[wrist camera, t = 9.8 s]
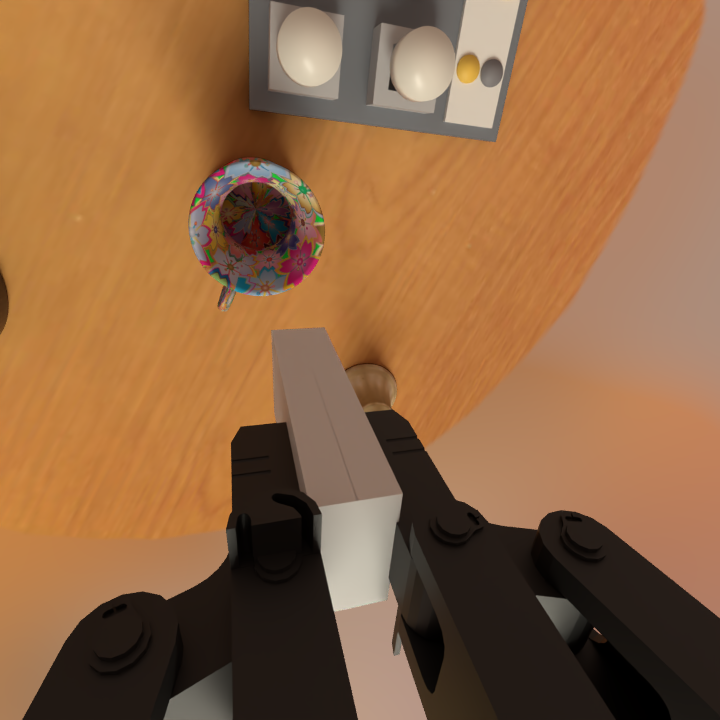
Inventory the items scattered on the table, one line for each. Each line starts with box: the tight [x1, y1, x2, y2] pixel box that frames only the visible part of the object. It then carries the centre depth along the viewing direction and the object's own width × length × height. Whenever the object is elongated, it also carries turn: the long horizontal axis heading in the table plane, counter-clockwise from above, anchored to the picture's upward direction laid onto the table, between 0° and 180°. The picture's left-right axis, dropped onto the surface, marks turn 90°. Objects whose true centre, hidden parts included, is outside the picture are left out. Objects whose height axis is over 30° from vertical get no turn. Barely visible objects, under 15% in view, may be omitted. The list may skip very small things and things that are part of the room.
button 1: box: [276, 7, 342, 87], centre depth 31 cm, size 4×4×4 cm
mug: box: [189, 157, 325, 311], centre depth 35 cm, size 12×9×11 cm
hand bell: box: [345, 364, 397, 412], centre depth 45 cm, size 8×8×16 cm
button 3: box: [390, 26, 455, 102], centre depth 32 cm, size 4×4×4 cm
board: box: [249, 0, 528, 142], centre depth 33 cm, size 22×16×4 cm
